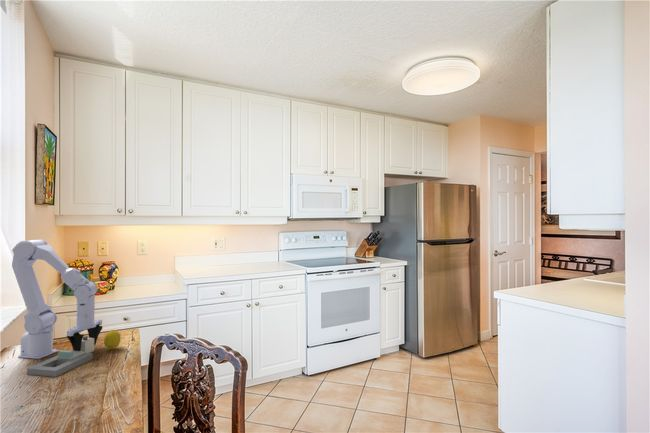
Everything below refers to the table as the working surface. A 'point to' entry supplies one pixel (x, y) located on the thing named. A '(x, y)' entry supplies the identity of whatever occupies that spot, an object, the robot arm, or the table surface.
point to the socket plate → (63, 365)
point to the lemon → (112, 339)
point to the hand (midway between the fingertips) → (85, 348)
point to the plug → (87, 344)
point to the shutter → (69, 354)
